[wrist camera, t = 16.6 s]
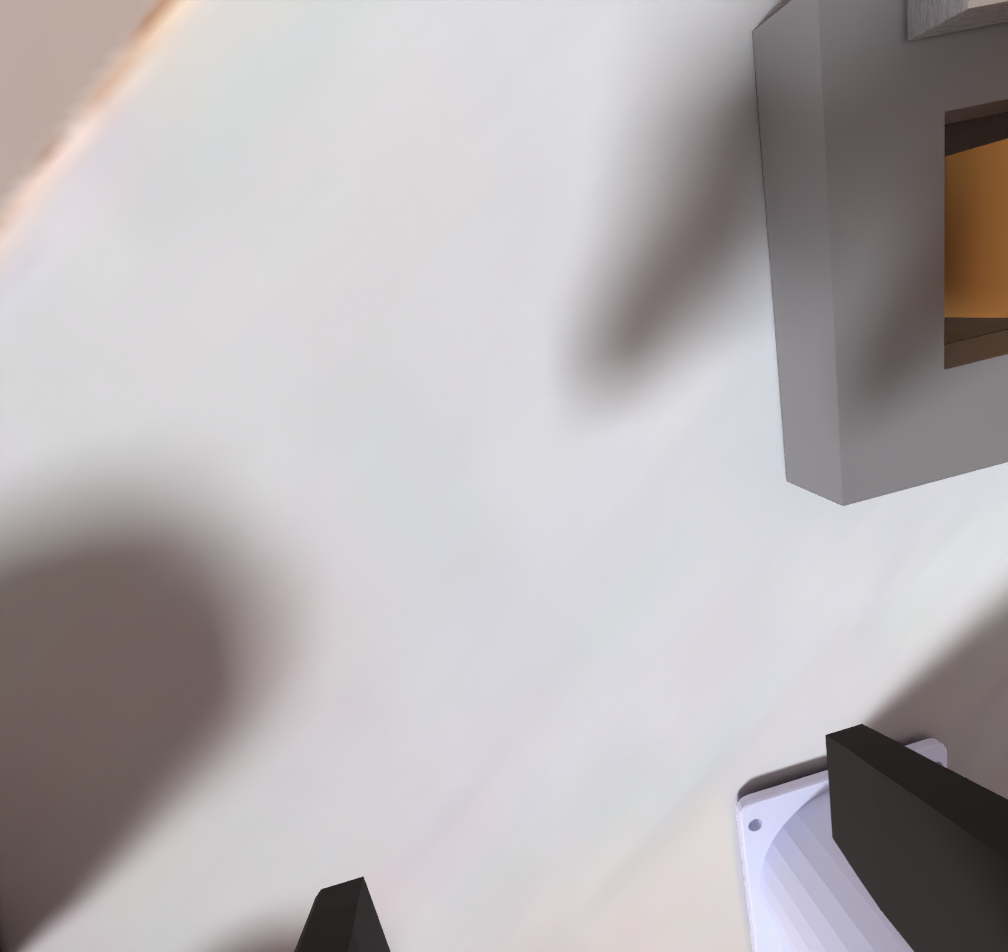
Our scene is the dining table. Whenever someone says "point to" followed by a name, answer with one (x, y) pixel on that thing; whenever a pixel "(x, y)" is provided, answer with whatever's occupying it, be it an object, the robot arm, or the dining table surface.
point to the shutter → (952, 16)
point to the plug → (976, 232)
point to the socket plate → (872, 246)
